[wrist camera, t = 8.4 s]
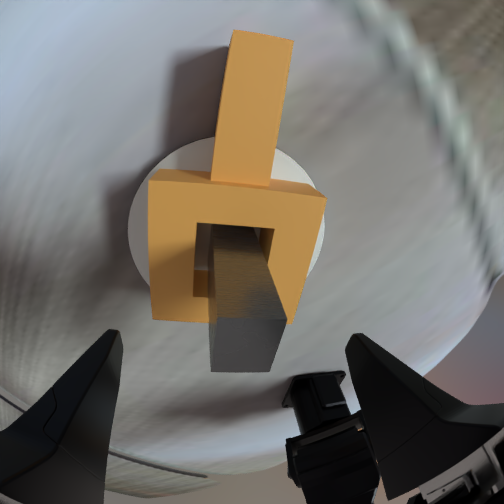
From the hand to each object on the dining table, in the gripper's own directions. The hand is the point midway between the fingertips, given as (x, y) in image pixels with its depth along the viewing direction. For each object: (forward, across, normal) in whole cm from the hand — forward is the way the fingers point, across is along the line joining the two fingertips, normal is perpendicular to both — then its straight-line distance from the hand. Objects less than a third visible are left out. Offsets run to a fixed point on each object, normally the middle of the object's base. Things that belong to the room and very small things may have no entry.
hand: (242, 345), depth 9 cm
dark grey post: (+9, 0, 0) cm, 9 cm away
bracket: (+10, 0, -3) cm, 10 cm away
